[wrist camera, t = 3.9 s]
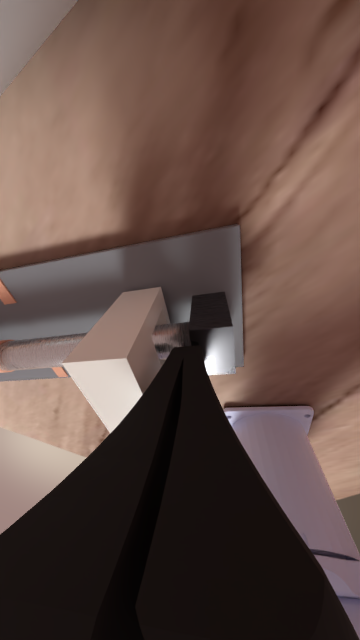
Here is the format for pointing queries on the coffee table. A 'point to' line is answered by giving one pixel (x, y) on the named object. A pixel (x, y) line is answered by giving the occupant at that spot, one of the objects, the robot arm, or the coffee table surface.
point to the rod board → (108, 284)
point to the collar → (119, 355)
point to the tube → (26, 32)
